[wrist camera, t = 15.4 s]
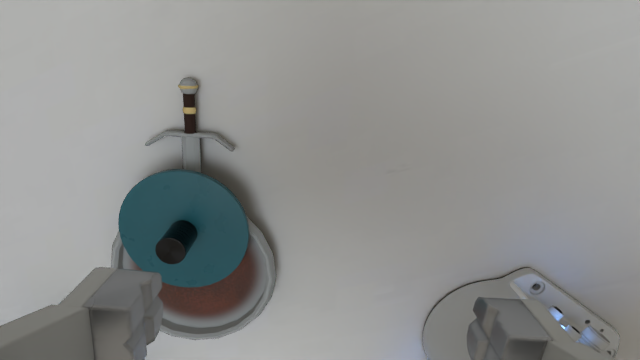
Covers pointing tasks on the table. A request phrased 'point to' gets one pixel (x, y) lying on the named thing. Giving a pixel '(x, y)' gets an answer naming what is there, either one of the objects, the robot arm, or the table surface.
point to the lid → (184, 228)
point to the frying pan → (227, 294)
